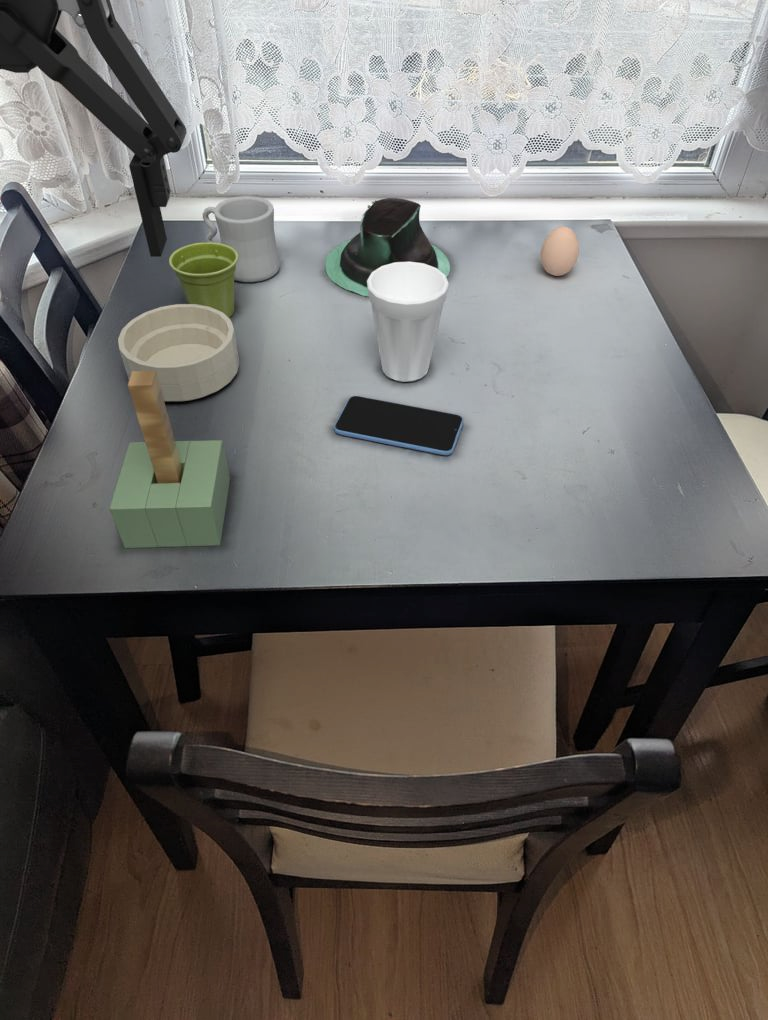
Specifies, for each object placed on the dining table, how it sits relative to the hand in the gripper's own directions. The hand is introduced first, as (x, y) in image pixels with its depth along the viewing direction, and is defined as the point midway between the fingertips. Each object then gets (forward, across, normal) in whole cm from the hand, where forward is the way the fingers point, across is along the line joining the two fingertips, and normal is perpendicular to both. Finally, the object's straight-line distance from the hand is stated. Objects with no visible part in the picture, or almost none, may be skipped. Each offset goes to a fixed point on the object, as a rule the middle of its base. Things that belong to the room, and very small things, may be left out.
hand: (66, 249), depth 54 cm
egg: (+32, -54, -53) cm, 82 cm away
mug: (+32, -4, -57) cm, 65 cm away
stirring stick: (+32, -2, -3) cm, 32 cm away
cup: (+32, -28, -29) cm, 51 cm away
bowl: (+32, +1, -29) cm, 43 cm away
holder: (+32, -2, -3) cm, 32 cm away
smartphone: (+32, -26, -17) cm, 45 cm away
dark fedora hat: (+32, -27, -57) cm, 71 cm away
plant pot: (+32, -1, -44) cm, 54 cm away
